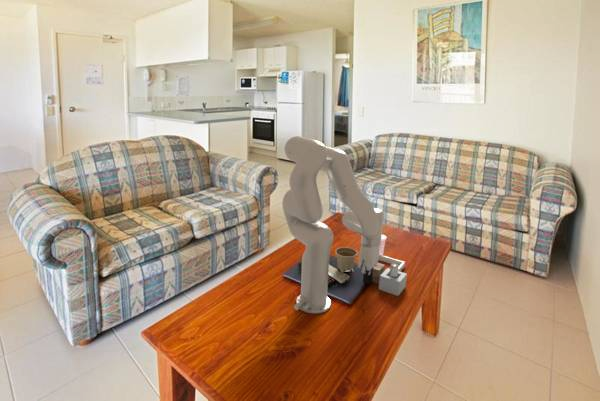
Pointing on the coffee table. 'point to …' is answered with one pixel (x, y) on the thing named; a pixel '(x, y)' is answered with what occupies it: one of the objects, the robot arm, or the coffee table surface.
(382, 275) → the bore block
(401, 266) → the u-shaped frame
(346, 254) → the flower pot
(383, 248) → the beverage cup
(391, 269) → the pin
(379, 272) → the walnut block
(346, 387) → the coffee table surface
